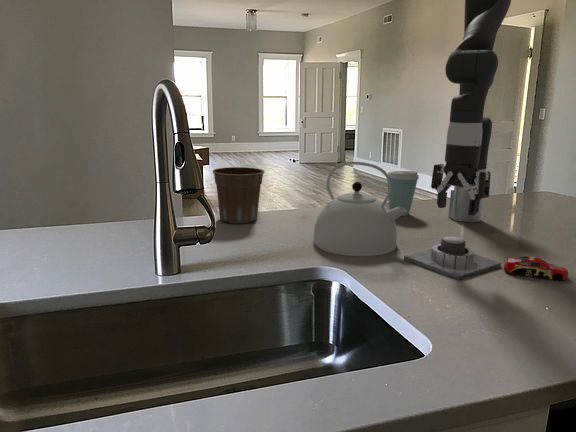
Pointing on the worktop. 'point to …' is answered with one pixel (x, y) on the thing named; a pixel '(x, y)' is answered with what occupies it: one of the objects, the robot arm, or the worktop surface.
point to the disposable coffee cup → (402, 189)
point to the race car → (534, 268)
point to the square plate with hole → (452, 262)
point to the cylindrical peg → (453, 245)
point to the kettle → (357, 221)
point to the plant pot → (238, 193)
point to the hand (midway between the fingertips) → (456, 211)
